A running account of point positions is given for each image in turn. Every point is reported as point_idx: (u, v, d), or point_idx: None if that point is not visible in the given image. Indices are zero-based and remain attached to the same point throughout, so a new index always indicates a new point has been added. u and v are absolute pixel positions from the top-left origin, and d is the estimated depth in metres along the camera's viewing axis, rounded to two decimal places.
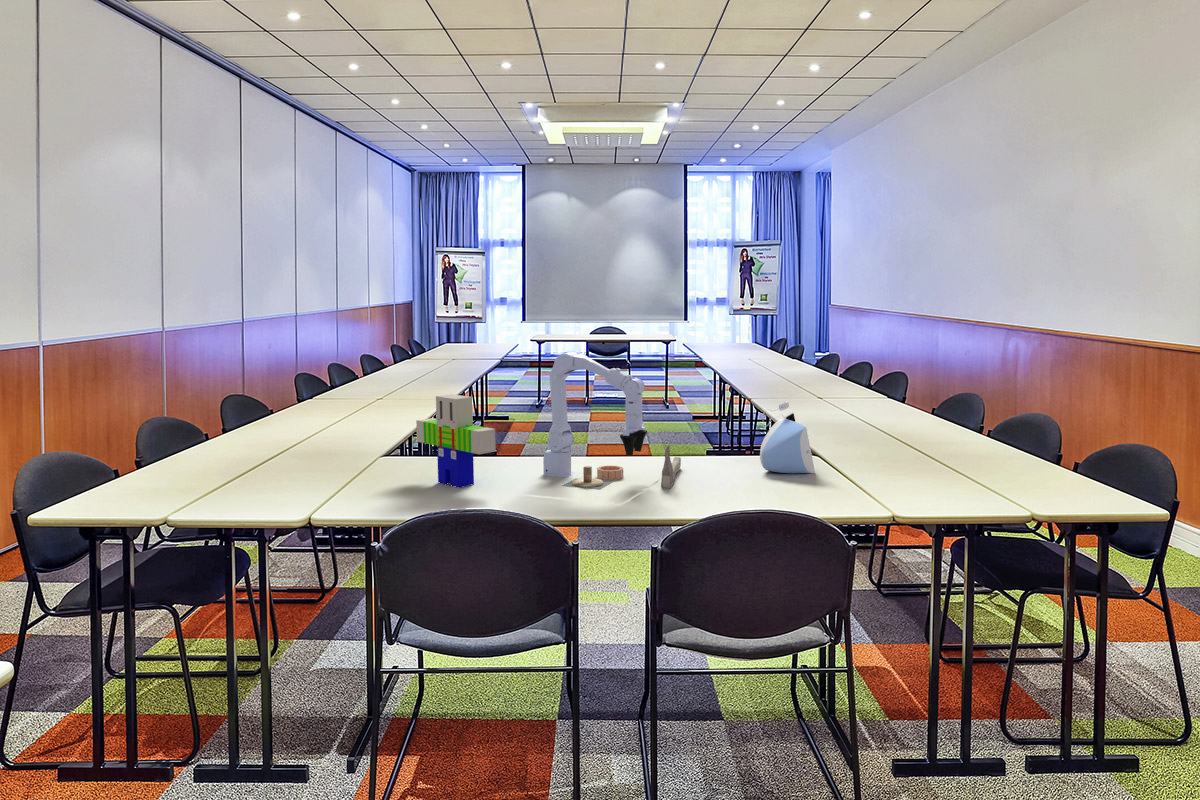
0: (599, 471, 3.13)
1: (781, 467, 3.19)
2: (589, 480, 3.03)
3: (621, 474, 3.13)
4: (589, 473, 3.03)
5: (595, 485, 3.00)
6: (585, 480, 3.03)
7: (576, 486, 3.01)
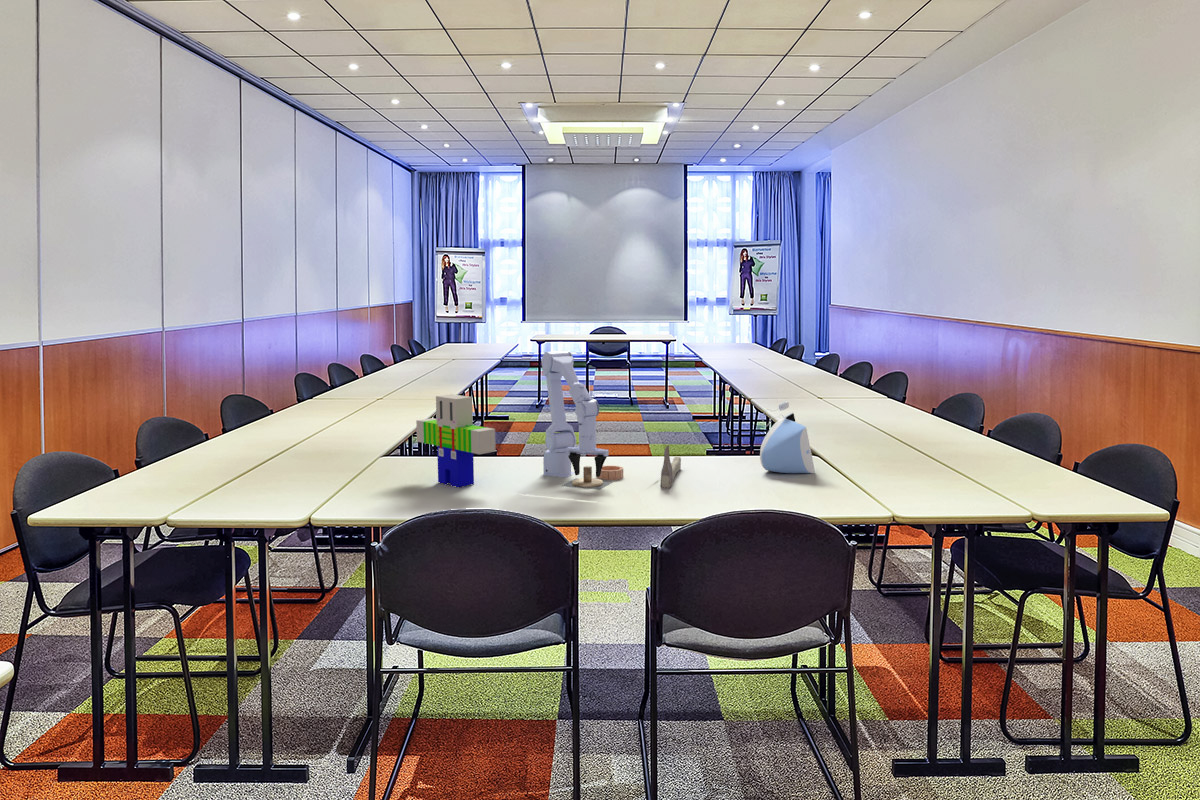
0: None
1: (781, 467, 3.19)
2: (589, 480, 3.03)
3: (621, 474, 3.13)
4: (589, 473, 3.03)
5: (595, 485, 3.00)
6: (585, 480, 3.03)
7: (576, 486, 3.01)
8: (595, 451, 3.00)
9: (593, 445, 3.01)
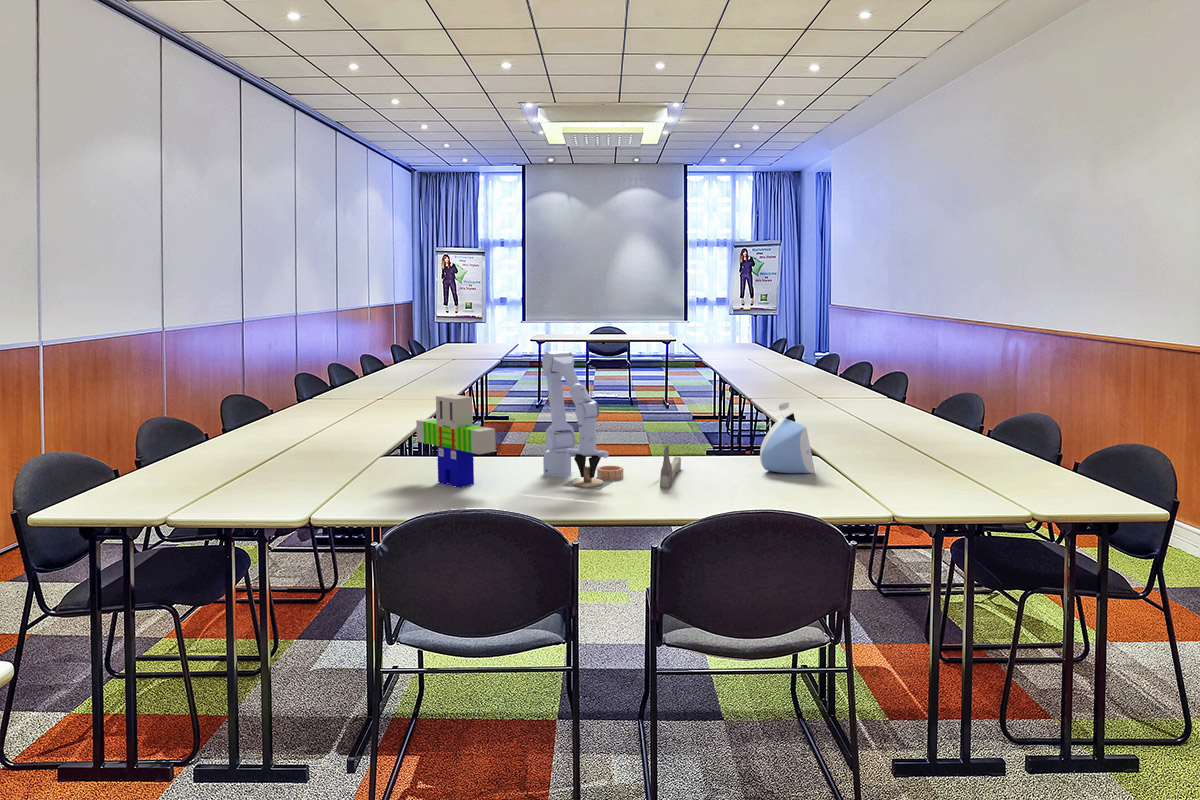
0: (599, 471, 3.13)
1: (781, 467, 3.19)
2: (589, 480, 3.03)
3: (621, 474, 3.13)
4: (589, 473, 3.03)
5: (595, 485, 3.00)
6: (585, 480, 3.03)
7: (576, 486, 3.01)
8: (595, 453, 3.00)
9: (593, 447, 3.01)
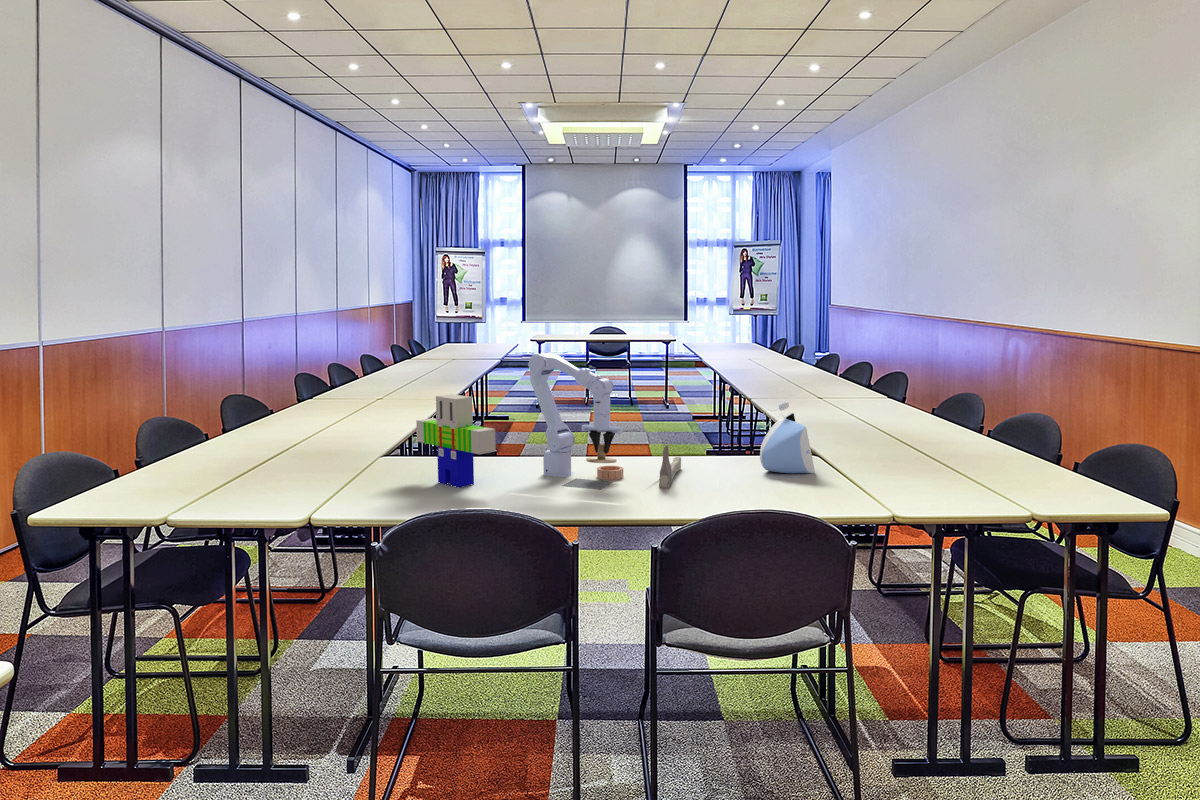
0: (599, 471, 3.13)
1: (781, 467, 3.19)
2: (603, 457, 3.09)
3: (621, 474, 3.13)
4: (603, 450, 3.09)
5: (609, 461, 3.06)
6: (599, 457, 3.09)
7: (576, 486, 3.01)
8: (609, 428, 3.06)
9: (607, 423, 3.07)
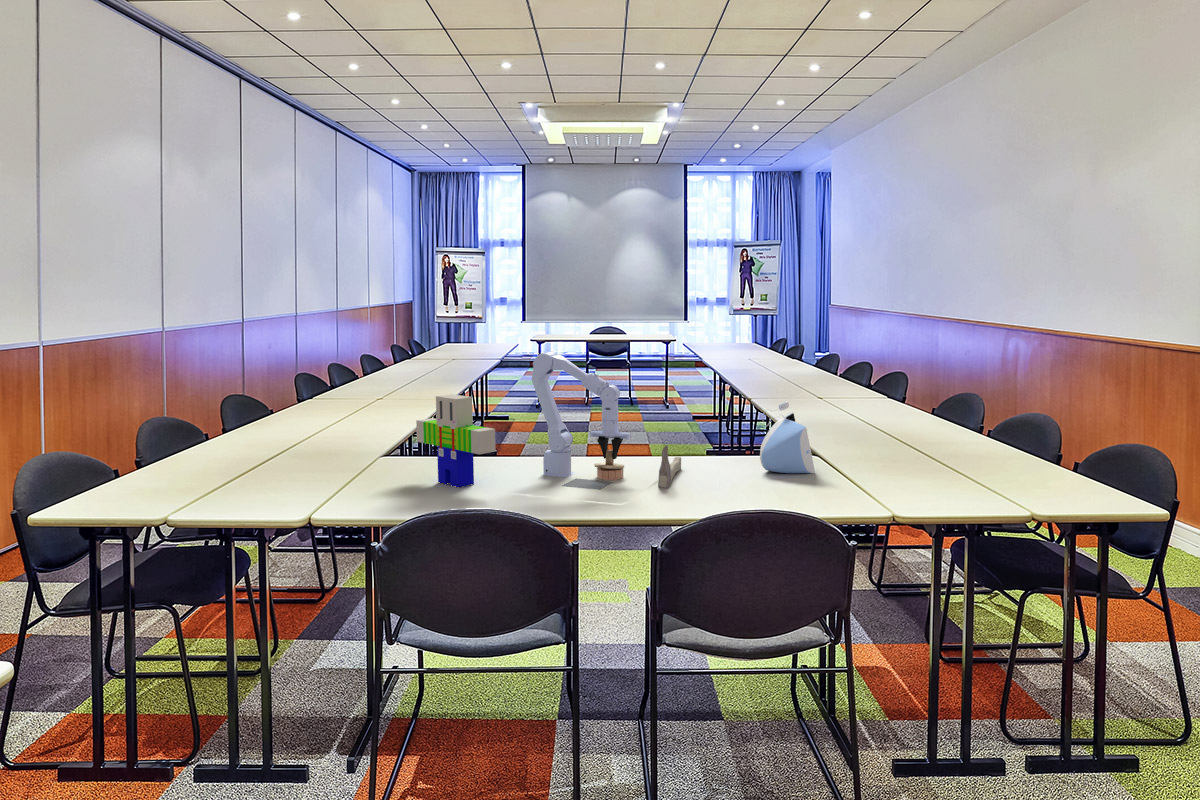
0: (599, 471, 3.13)
1: (781, 467, 3.19)
2: (611, 463, 3.13)
3: (621, 474, 3.13)
4: (611, 456, 3.13)
5: (617, 467, 3.10)
6: (607, 463, 3.13)
7: (576, 486, 3.01)
8: (618, 434, 3.10)
9: (616, 429, 3.11)
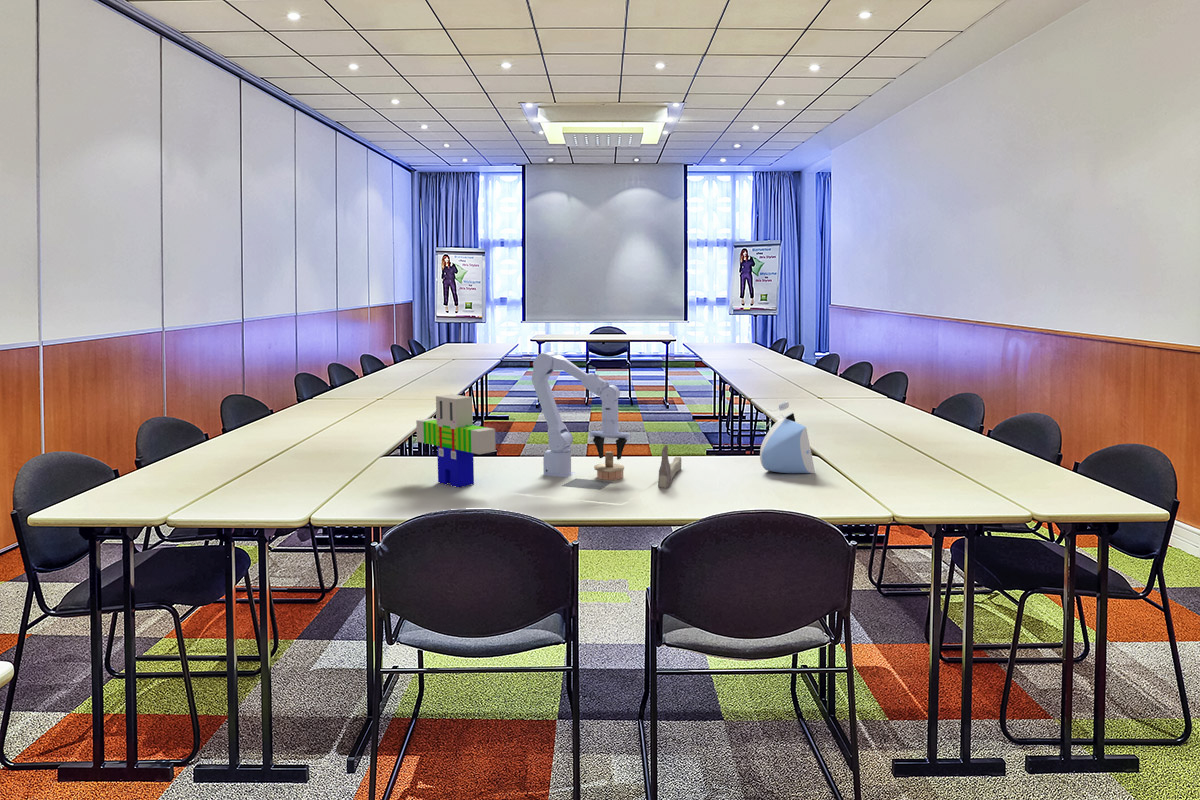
0: (599, 471, 3.13)
1: (781, 467, 3.19)
2: (611, 465, 3.13)
3: (621, 474, 3.13)
4: (611, 458, 3.13)
5: (617, 470, 3.10)
6: (607, 465, 3.13)
7: (576, 486, 3.01)
8: (618, 434, 3.10)
9: (616, 429, 3.11)
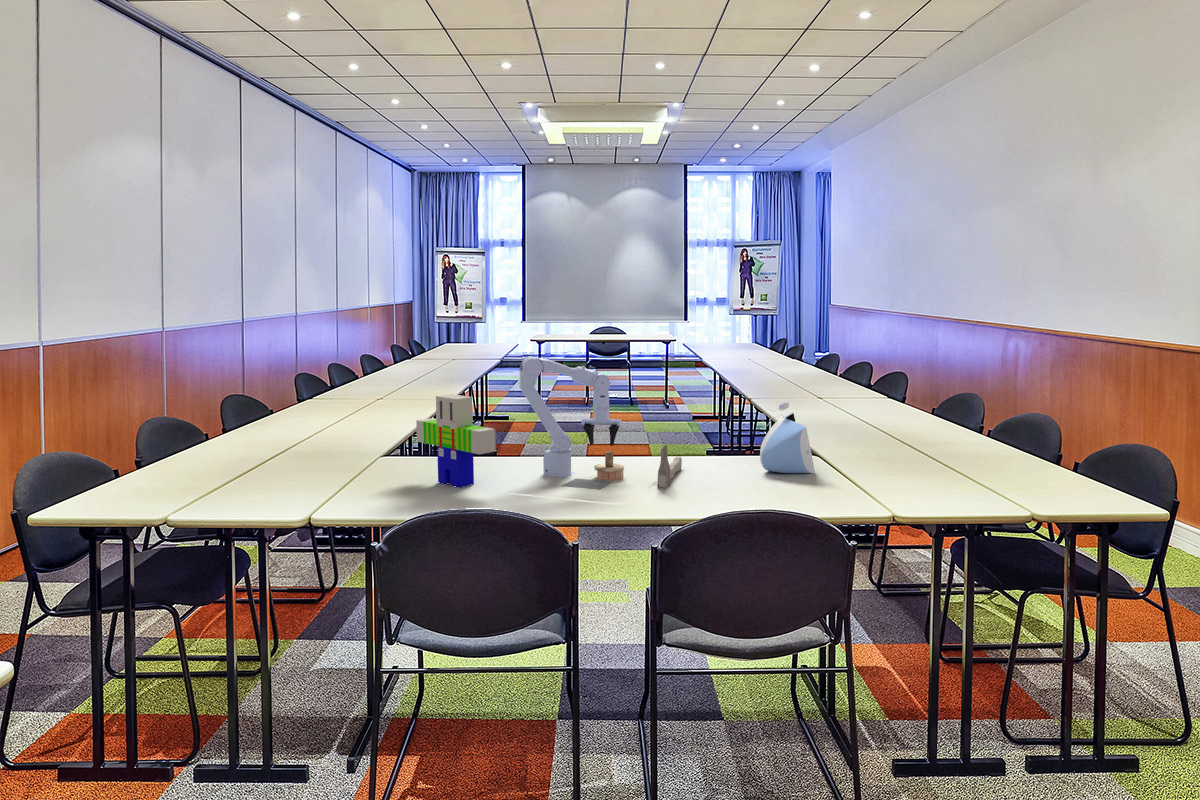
0: (599, 471, 3.13)
1: (781, 467, 3.19)
2: (611, 465, 3.13)
3: (621, 474, 3.13)
4: (611, 458, 3.13)
5: (617, 470, 3.10)
6: (607, 465, 3.13)
7: (576, 486, 3.01)
8: (609, 421, 3.18)
9: (607, 416, 3.19)
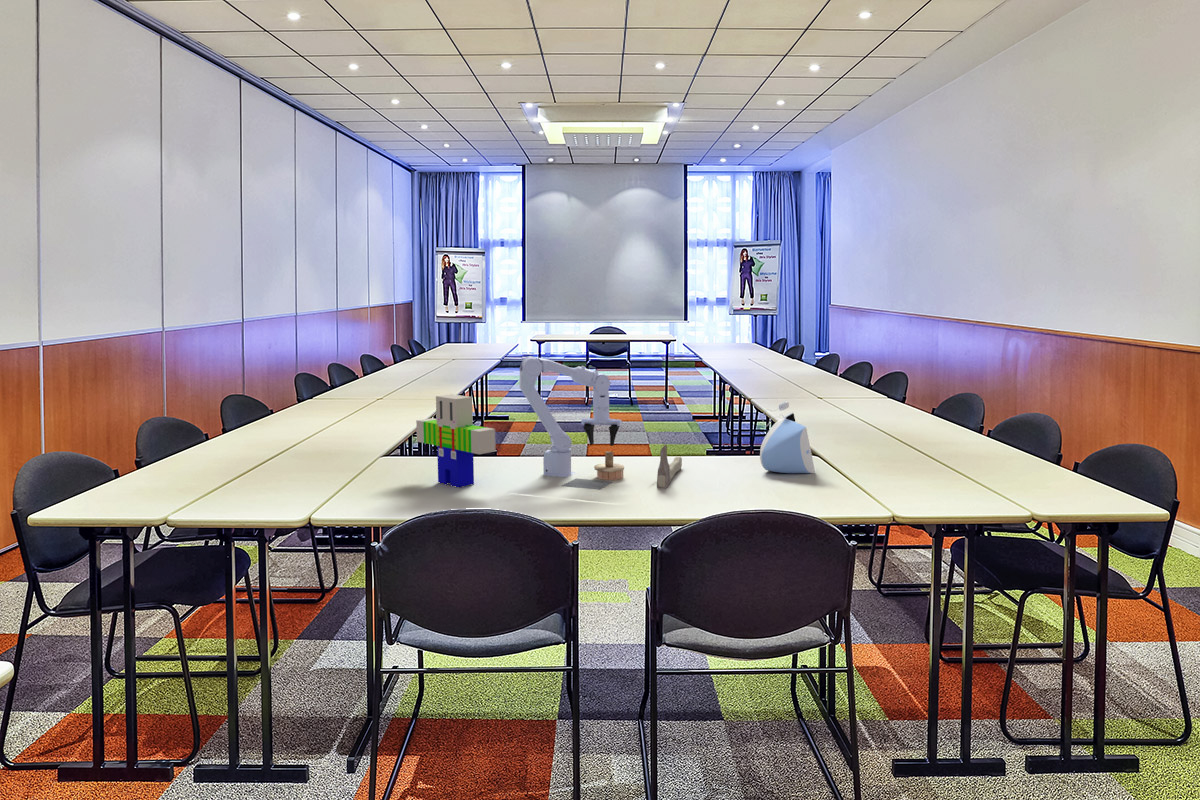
0: (599, 471, 3.13)
1: (781, 467, 3.19)
2: (611, 465, 3.13)
3: (621, 474, 3.13)
4: (611, 458, 3.13)
5: (617, 470, 3.10)
6: (607, 465, 3.13)
7: (576, 486, 3.01)
8: (609, 421, 3.18)
9: (607, 416, 3.19)
